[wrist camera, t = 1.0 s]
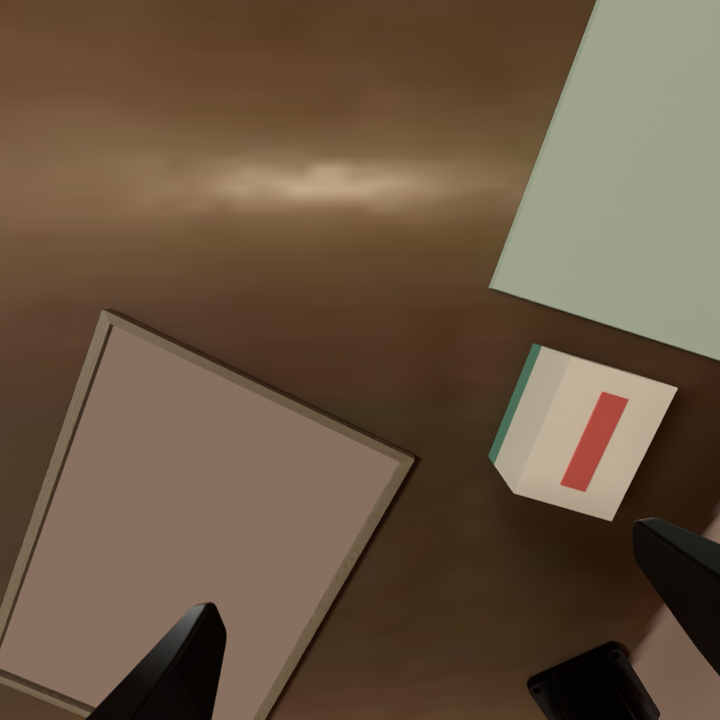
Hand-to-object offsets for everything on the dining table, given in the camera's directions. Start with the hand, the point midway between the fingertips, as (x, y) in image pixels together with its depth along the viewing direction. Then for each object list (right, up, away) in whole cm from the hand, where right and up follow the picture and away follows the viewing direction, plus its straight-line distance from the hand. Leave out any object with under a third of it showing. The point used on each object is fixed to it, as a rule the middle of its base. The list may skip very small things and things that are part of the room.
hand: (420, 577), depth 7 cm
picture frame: (-13, -9, +16) cm, 22 cm away
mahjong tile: (+10, +2, +13) cm, 16 cm away
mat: (+15, +13, +10) cm, 22 cm away
